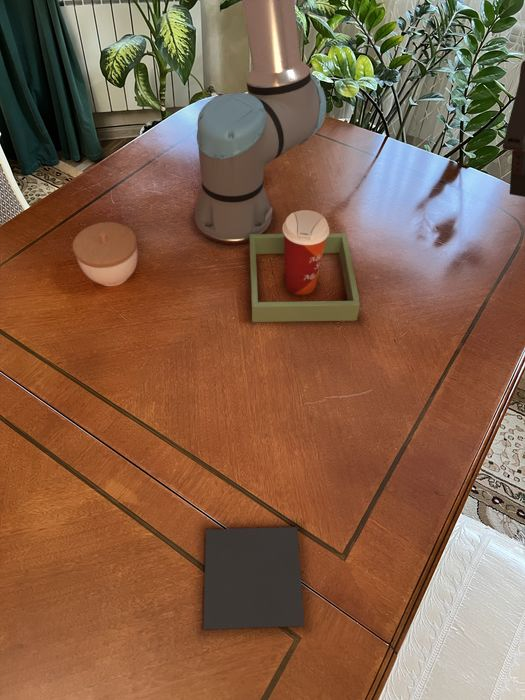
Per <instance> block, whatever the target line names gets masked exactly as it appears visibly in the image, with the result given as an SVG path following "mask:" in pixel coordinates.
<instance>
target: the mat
mask: <svg viewBox="0 0 525 700" xmlns="http://www.w3.org/2000/svg"><path fill="white" fill-rule="evenodd" d="M204 542H205V543H204V546H205V547H204V582H203V584H204V585H203V589H204V590H203V622H202V624H203V626H202V627H203V628H202V629H203V631H210V630H211V631H212V630H215V631H216V630H240V629H241V630H243V629H264V628H266V629H268V628H270V629H271V628H295V627H296V628H297V627H299V628H300V627H305V614H304V601H303V588H302V575H301V562H300V560H301V559H300V550H299V535H298V526H287V527H286V526H285V527H283V526H282V527H281V526H280V527H252V528H219V529H218V528H217V529H214V528H213V529H205V541H204Z"/></svg>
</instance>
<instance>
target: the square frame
mask: <svg viewBox="0 0 525 700" xmlns="http://www.w3.org/2000/svg"><path fill="white" fill-rule="evenodd" d="M349 244H350V243H349V240H348V234H347V233H346V232H344V233H343V232H338V233H337V232H335V233H334V232H333V233H332V232H331V233H330V232H329V235H328V237H327V238H326V241H325V246H324V251H323V254H339V259H340V264H341V271H342V277H343V283H344V289H345V293H346V294H345V295H346V300H312V301H311V300H310V301H309V300H308V301H305V300H304V301H303V300H302V301H259V295H258V294H259V293H258V292H259V291H258V273H257V269H258V268H257V255H271V254H273V255H274V254H275V255H277V254H278V255H279V254H284V233H265V234H250V242H249V273H250V274H249V275H250V277H249V278H250V302H251V303H250V305H251V307H250V308H251V323H279V322H280V323H281V322H283V323H284V322H285V323H286V322H340V321H341V322H345V321H346V322H347V321H348V322H349V321H350V322H351V321H358V316H359V312H360V308H361V303H360V297H359V291H358V286H357V281H356V276H355V271H354V266H353V265H354V264H353V261H352V260H353V259H352V255H351V249H350V245H349Z"/></svg>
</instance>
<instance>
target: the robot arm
mask: <svg viewBox="0 0 525 700" xmlns="http://www.w3.org/2000/svg"><path fill="white" fill-rule="evenodd" d="M295 3H296V2H295V0H241V4H242V9H243V16H244V23H245V29H246V34H247V41H248V47H249V54H250V59H251V66H252V68H251V70H250V71H249V72H248V74H247V76H246V77H245V82H246V88H247V89H246V90H247V93H246V92H237V91H236V92H233V93H232V94H229V93H219V94H217V96H216V97H214V98H212V99H210V100H209V101H208V102H207V103H205V104H204V106H203V107H201V110H200V111H199V114H198V116H197V132H196V143H197V146H198V147H197V149H198V159H199V168H200V182H201V188H200V191H199V194H198V197H197V201H196V204H195V208H194V224H195V227H196V230H198V232H199V233H200V234H201V235H202V236H203V237H204V238H206V239H208V240H210V241H212V242H215V243H218V244H222V245H228V246H229V245H230V246H233V245H235V246H236V245H245V244H250V234H267V233H268V231H269V229H270V228H271V226H272V222H273V221H272V219H273V206H272V205H271V203H270V201H269V198H268V195H267V192H266V190H265V186H264V177H265V176H264V175H265V174H264V173H265V167H266V166H267V165H268V164H269V163H271V162H272V161H275V160H276V159H278V158H280V157H281V156H283V155H284V154H286V153H287V152H289V151H291V150H292V149H294V148H295V147H297V146H300V145H303V144H305V143H306V142H307V141H308V140H309V139H310V138H312V137H313V136H314V135H315V134H317V133H318V131H319V130H320V129H321V127H322V126H323V124H324V121H325V118H326V114H327V99H326V94H325V91H324V89H323V87H322V86H320V85H319V84H320V82H319V80H318V79H317V78H316V77H315V75H313V74H311V68H310V66H309V65H308V64H306V63H305V62H304V61H303V60H302V59H301V53H300V42H299V33H298V24H297V13H296V4H295ZM502 150H505V151H506V150H507V151H511V165H510V166H511V167H510V181H509V195H511V196H518V197H522V198H525V60H523V61H522V62H521V64H520V71H519V80H518V84H517V89H516V93H515V97H514V100H513V104H512V107H511V112H510V115H509V119H508V123H507V127H506V131H505V135H504V139H503V143H502Z"/></svg>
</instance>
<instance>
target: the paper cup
mask: <svg viewBox="0 0 525 700" xmlns="http://www.w3.org/2000/svg"><path fill="white" fill-rule="evenodd" d="M281 228H282V229H281V230H282V234H284V285H285V288H286V290H288V292H290V294H291V293H292V294H294V295H298V296H306V295H309V294H311V293H312V292H314V291H315V289H316V287H317V283H318V278H319V274H320V269H321V266H322V265H321V264H322V260H323V255H324V253H323V251H324V246H325V241H326V238H327V237H328V235H329V233H330V226H329V224H328V221H327V219H326V218H325V216H323V215H322V214H320V213H319V212H317V211H314V210H309V209H301V210H298V211H293V212H291V213H290V214H289V215H288V216H287V217H286V219H285V220H284V222H283V224H282V227H281Z"/></svg>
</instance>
